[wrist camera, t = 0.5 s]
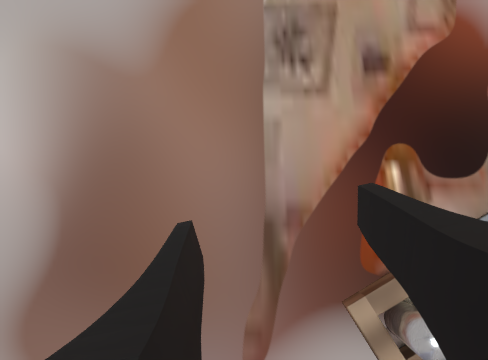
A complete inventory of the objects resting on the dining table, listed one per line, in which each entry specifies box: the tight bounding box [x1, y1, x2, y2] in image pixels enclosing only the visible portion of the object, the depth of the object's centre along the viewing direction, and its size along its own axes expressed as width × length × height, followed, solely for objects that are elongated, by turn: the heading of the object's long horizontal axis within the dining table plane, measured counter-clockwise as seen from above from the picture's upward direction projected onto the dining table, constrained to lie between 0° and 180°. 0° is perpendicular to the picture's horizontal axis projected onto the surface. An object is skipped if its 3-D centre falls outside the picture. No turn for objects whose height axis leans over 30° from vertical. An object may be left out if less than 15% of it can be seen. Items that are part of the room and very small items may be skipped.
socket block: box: [342, 272, 423, 360], centre depth 34 cm, size 10×10×2 cm
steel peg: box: [384, 301, 446, 360], centre depth 31 cm, size 4×4×8 cm
